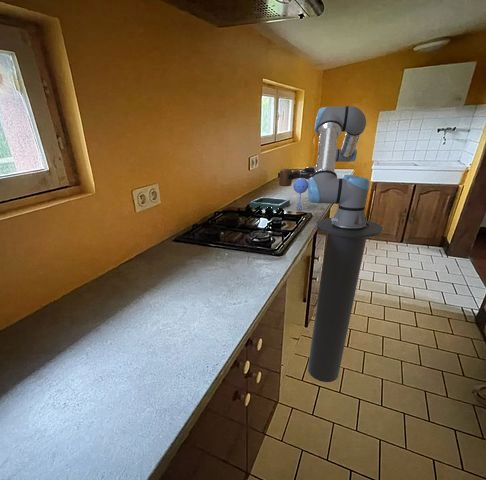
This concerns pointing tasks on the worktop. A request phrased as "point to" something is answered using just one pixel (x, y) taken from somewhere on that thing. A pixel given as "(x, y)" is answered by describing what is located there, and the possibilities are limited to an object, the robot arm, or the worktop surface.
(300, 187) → the baby rattle
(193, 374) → the worktop surface
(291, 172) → the mug
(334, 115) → the robot arm
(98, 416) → the worktop surface
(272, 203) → the tray
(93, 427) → the worktop surface
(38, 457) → the worktop surface
